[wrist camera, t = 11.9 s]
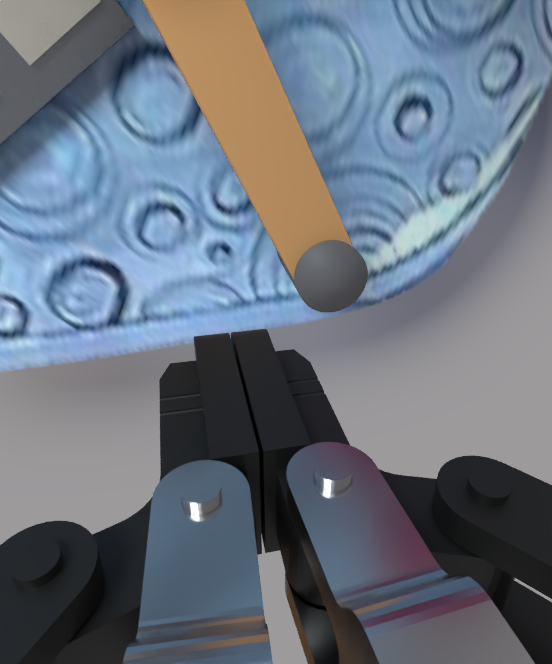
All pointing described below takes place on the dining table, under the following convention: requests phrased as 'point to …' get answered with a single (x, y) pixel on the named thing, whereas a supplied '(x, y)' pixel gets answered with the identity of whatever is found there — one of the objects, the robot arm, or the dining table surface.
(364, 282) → the swing bar
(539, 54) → the dining table surface
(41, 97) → the label plate
